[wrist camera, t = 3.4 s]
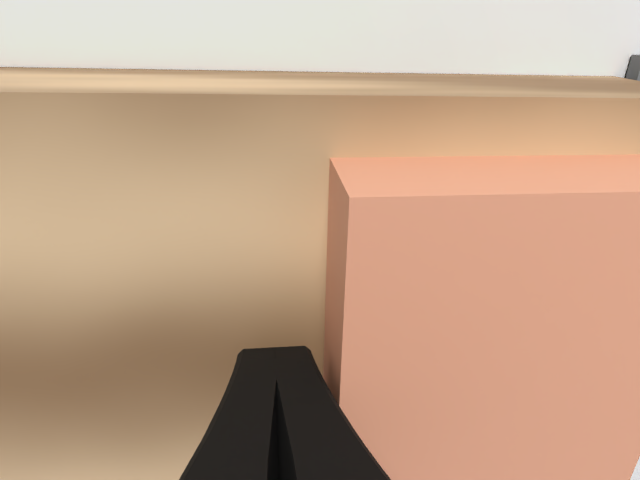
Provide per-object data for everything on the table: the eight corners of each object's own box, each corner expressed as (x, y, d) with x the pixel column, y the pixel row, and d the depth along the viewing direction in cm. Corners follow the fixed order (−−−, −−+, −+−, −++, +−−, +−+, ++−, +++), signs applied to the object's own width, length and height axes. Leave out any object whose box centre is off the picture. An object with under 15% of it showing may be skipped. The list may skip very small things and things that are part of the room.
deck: (523, 415, 16) (586, 510, 13) (57, 448, 15) (3, 566, 12) (614, 76, 12) (743, 99, 9) (-48, 66, 10) (-186, 90, 7)
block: (546, 489, 13) (593, 568, 11) (319, 510, 12) (329, 598, 10) (651, 154, 9) (750, 189, 7) (329, 157, 8) (349, 198, 6)
